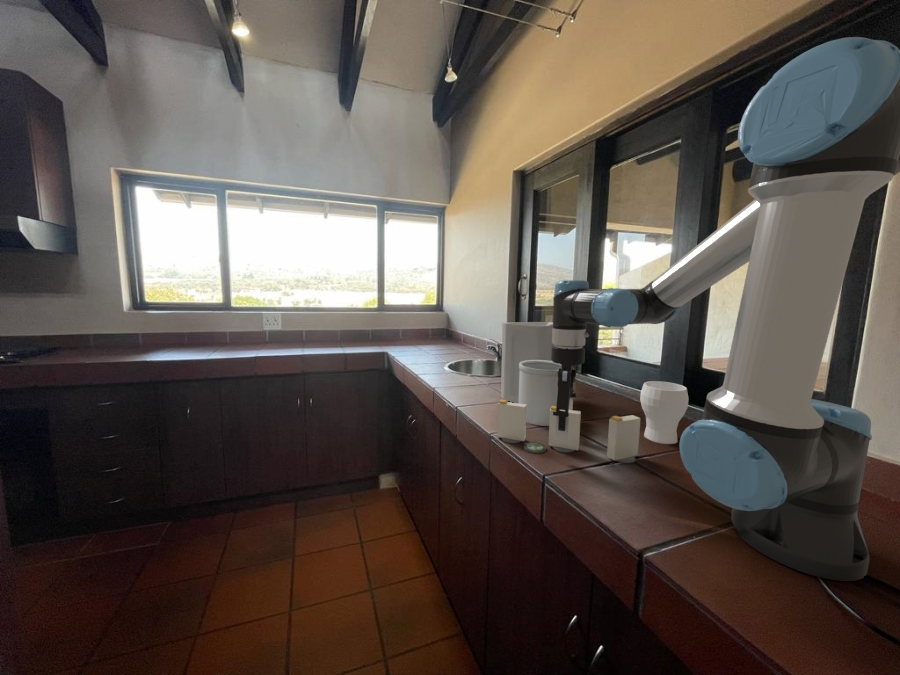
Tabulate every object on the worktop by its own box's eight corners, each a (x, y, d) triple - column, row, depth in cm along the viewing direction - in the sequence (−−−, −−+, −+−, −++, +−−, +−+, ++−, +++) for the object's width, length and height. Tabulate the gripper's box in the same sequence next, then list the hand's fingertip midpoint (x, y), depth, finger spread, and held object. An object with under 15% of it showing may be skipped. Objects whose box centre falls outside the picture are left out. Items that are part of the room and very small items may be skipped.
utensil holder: (565, 414, 111) (568, 360, 109) (568, 432, 97) (571, 371, 95) (519, 410, 115) (520, 358, 113) (515, 426, 101) (517, 368, 99)
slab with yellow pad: (643, 460, 79) (646, 417, 77) (619, 465, 76) (622, 422, 75) (624, 450, 84) (627, 410, 82) (601, 455, 81) (604, 414, 80)
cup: (692, 451, 85) (698, 392, 83) (645, 447, 87) (649, 390, 85) (673, 434, 95) (678, 381, 93) (632, 431, 97) (635, 379, 95)
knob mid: (578, 455, 81) (580, 413, 80) (547, 449, 84) (549, 409, 83) (579, 446, 86) (581, 407, 85) (550, 441, 89) (551, 403, 87)
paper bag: (512, 409, 115) (515, 326, 111) (500, 396, 130) (501, 322, 126) (566, 407, 118) (570, 325, 114) (548, 394, 132) (551, 321, 129)
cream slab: (522, 445, 86) (524, 406, 85) (495, 440, 89) (496, 403, 88) (526, 437, 91) (527, 400, 90) (500, 433, 94) (501, 397, 92)
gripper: (583, 356, 69) (577, 456, 72) (586, 340, 92) (582, 416, 94) (544, 353, 72) (540, 450, 75) (557, 338, 94) (554, 412, 97)
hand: (563, 431), depth 85 cm, fingers open, 13 cm apart
